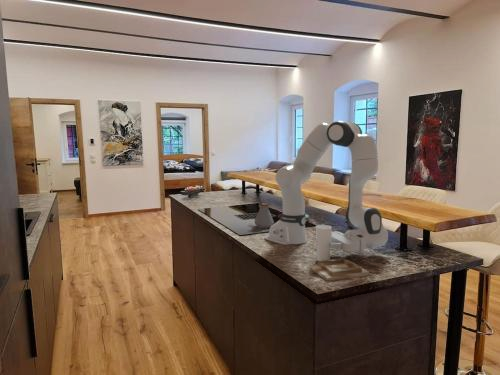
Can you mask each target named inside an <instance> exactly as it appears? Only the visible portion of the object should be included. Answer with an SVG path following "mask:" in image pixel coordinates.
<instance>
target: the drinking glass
mask: <svg viewBox="0 0 500 375" xmlns="http://www.w3.org/2000/svg"><path fill="white" fill-rule="evenodd" d="M332 228H333V227H332V226H331V225H328V224H327V225H326V224H319V225H316V226H315V234H314V235H315V247H316V261H317V262H318V261H326V260H331V259H330V256H331V248H330V247H329V243H331V238H332V230H333V229H332Z"/></svg>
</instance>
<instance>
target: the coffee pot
mask: <svg viewBox="0 0 500 375" xmlns="http://www.w3.org/2000/svg"><path fill="white" fill-rule="evenodd" d="M257 200H258V202H259V204H258V207H259V210H258V212H257V215H256V217H255V220H254V225H256V226H257V228H259V229H270V227H271V226H272V225H273V224H275V221H274V219H273V216H272V214H271V212H270V210H269V208H270V207H271V205H270V204H265V203H264V204H263V203H262V198H261V197H258V198H257Z"/></svg>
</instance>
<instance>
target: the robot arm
mask: <svg viewBox="0 0 500 375" xmlns="http://www.w3.org/2000/svg"><path fill="white" fill-rule="evenodd" d="M331 145H334V146H338V147H344V148H348V149H349V150H350V156H351V158H350V159H351V172H350V176H349V180H348V202H347V203H348V204H347V208H346V212H345V221H346V223H347V224H348V226H350V227H351V228H354V229H348V230H346V231H345V233H342V232H340V231H335V230H334V231H332V238H331V243H329V247H330V249H340V250H342V251H344V252H345V253H365V249H374V248H378V247H382V246H384V245H386V243H387V242H388V240H389V232H388V230H387V229H386V228H385V226H384V224H383V221H382V220H383V218H382V214H381V212H380V211H379V210H378V209H377V208H374V207H368V206H367V207H365V206H364V205H363V190H364V186H365V184H367V182H368V181H370V180H372V179H373V178H374V177H375V176H376V175H377V173H378V171H379V159H378V158H379V157H378V150H377V145H376V141H375V138H374V137H373V135H370V134H366V133H363V130H362V128H361V127H360V125H358V124H357V123H354V122H352V121H349V120H345V121H344V120H337V121H334V122H332V123H330V124H329V123H326V122H320V123H319V124H317V125H316V126H315V127H314V128H313V129H312V131H311V132H310V133H309V134H308V135H307V137H306V138H305V140H304V141H303V143H302V144H301V145H300V147H299V148H298V150H297V154H296V157H295V160H294V161H293V163H291V164H289V165H284V166H282V167H281V168H279V169H278V170H277V171H276V174H275V177H274V178H275V182H276V183H277V185H278V186H279V188H280V192H281V193H280V194H281V197H282V213H280V214H278V216H277V217H278V218H279V220H278V221H276V222H274V223H273V225H272V226H271V227H270V228H269V230H268V234H266V235H264V240H267V241H269V242H270V241H271V242H273V243H276V244H279V245H283V246H287V245H303V244H306V243H307V242H308V237H307V233H306V232H307V231H306V222H305V214H306V212H305V211H306V210H305V202H306V201H305V200H306V199H305V196H304V195H303V192H302V187H301V186H302V185H305V184H306V183H307V182H308V181H309V180H310V179H311V176H312V174H313V171H314V169H315V167H316V166H317V164H318V162H319V161H320V160H321V158H322V157H323V156H324V154H325V153H326V152H327V150H328V149H329V147H330V146H331Z"/></svg>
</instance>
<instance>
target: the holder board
mask: <svg viewBox="0 0 500 375" xmlns="http://www.w3.org/2000/svg"><path fill="white" fill-rule="evenodd" d="M309 268H310V270H312V271H314V272H315V273H316V274H317V275H318V276H320V277H321V278H322V279H324V280H325V281H326V282H329V281H336V280H345V279H350V278H359V277H365V276H370V271H368V270H366V269H365V268H363V267H361V266H360V265H358V264H356V263H355V262H353V261H351V260H350V259H349V260H348V259H347V258H345V257H344V258H336V259H329V260H326V261H317V264H310V267H309Z"/></svg>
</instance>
